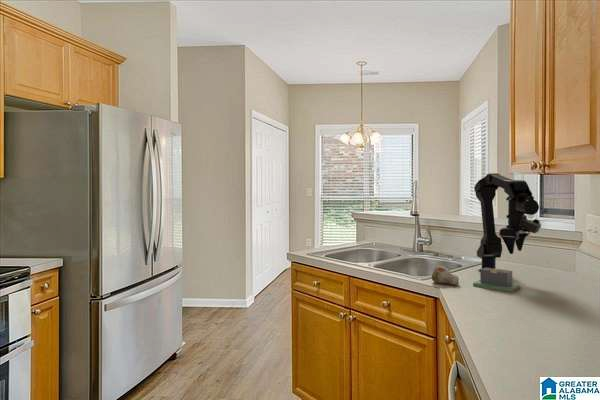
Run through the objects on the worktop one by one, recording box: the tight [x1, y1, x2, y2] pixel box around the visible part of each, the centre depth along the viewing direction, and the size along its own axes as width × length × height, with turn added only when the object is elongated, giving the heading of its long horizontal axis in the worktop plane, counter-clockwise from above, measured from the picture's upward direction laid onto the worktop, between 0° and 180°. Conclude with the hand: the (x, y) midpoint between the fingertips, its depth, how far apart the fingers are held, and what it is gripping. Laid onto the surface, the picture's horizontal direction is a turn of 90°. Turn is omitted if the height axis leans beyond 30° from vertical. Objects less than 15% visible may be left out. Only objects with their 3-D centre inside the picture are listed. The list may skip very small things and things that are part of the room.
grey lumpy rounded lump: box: [431, 264, 460, 286], centre depth 181 cm, size 8×10×10 cm
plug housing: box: [479, 268, 513, 286], centre depth 175 cm, size 5×10×5 cm, turn 46°
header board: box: [472, 279, 521, 293], centre depth 175 cm, size 9×14×4 cm, turn 46°
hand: (515, 252), depth 181 cm, fingers open, 9 cm apart
